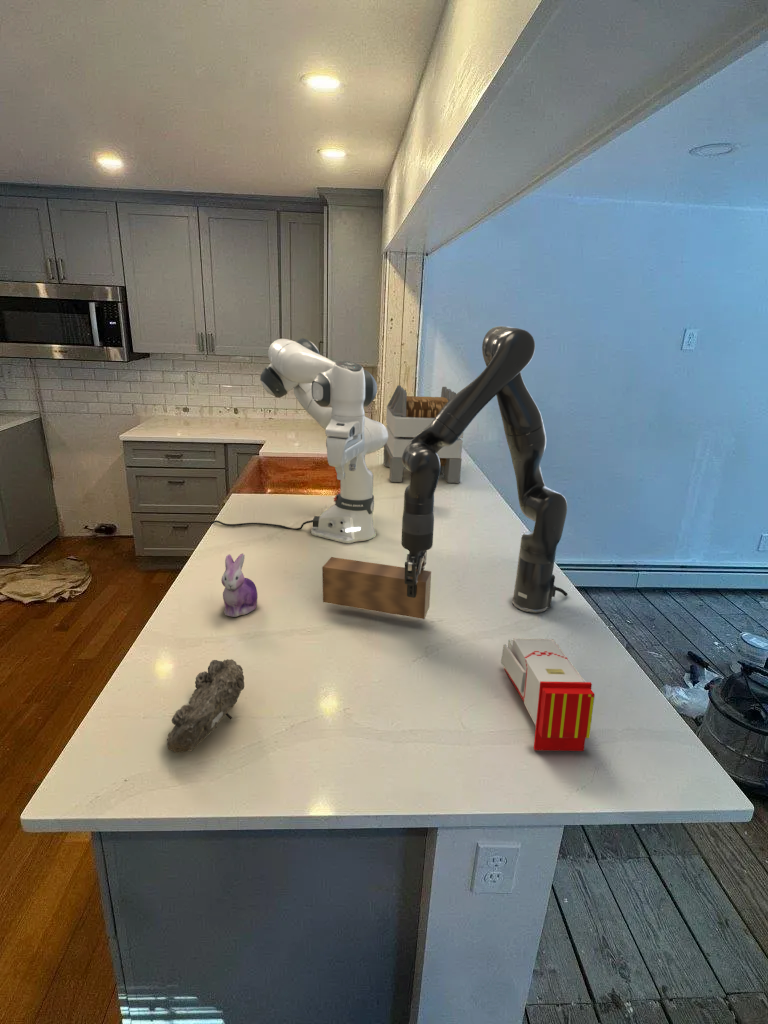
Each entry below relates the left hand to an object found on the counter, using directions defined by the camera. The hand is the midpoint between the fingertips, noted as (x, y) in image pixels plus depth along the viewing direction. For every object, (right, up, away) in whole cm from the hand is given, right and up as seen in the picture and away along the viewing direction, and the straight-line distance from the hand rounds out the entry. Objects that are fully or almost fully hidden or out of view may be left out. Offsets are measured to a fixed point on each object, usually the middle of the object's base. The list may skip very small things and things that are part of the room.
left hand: (346, 474), depth 156 cm
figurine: (-27, -35, -9) cm, 45 cm away
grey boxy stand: (+27, +9, +119) cm, 123 cm away
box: (+8, -34, -11) cm, 37 cm away
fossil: (-23, -49, -48) cm, 72 cm away
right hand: (+18, -30, -15) cm, 38 cm away
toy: (+42, -49, -40) cm, 76 cm away
